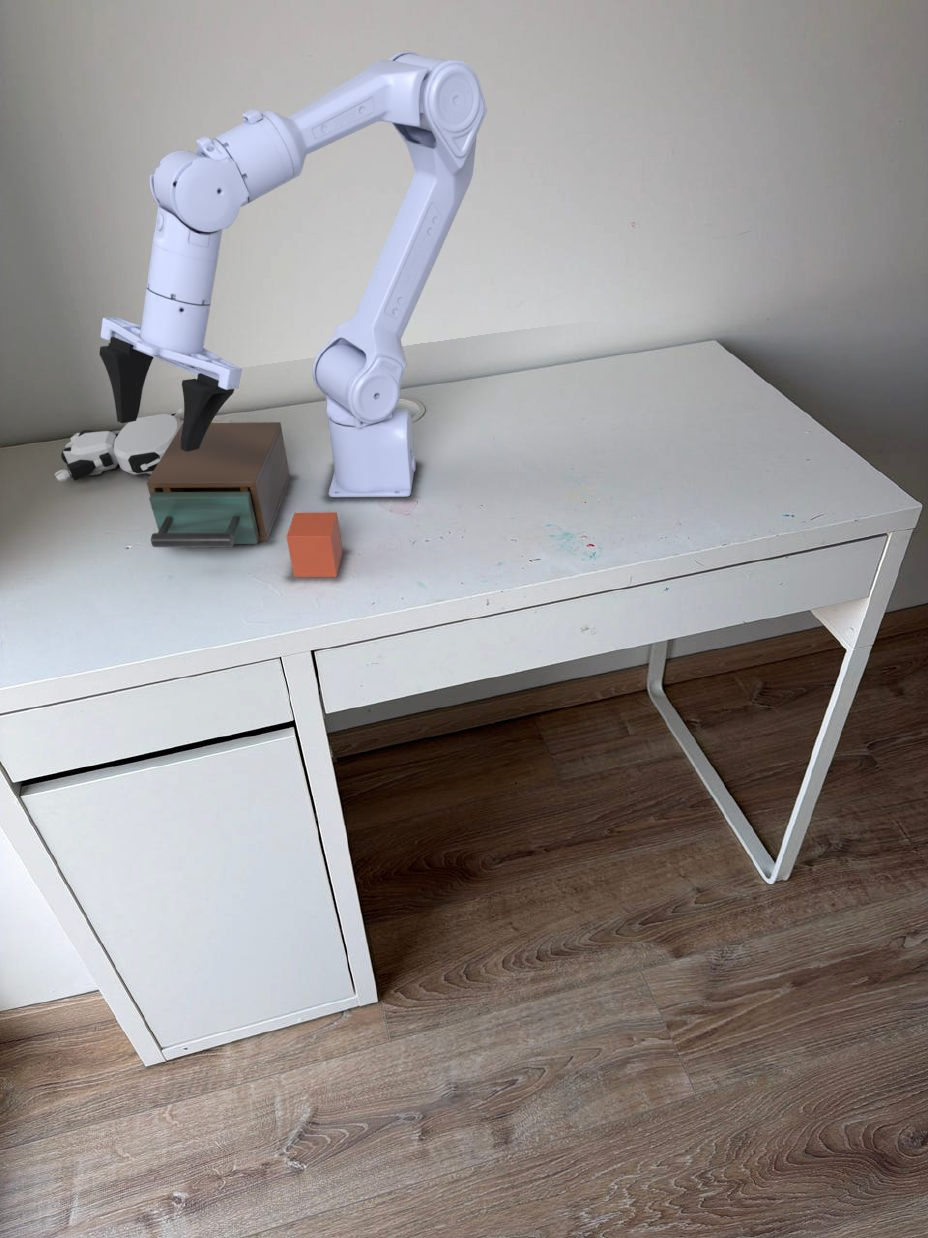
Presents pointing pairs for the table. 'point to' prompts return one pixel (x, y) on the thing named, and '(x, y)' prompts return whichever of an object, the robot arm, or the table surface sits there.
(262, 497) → the cabinet
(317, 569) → the block
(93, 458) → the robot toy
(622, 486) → the table surface
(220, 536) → the drawer
